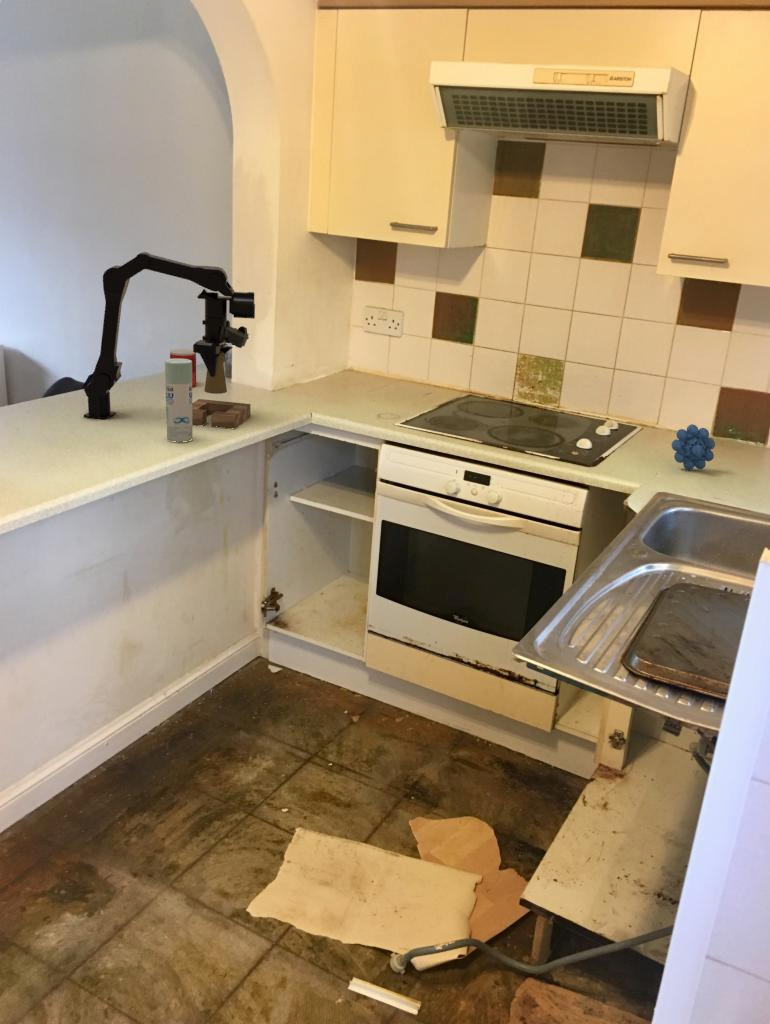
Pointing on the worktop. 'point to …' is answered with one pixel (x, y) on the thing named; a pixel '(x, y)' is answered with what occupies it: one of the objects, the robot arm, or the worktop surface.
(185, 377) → the spray paint can
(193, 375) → the canned food
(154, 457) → the worktop surface
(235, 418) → the socket block
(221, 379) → the cork
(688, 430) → the blue knobbed flower
